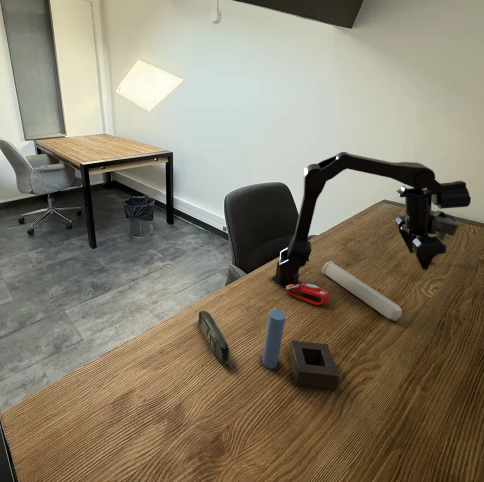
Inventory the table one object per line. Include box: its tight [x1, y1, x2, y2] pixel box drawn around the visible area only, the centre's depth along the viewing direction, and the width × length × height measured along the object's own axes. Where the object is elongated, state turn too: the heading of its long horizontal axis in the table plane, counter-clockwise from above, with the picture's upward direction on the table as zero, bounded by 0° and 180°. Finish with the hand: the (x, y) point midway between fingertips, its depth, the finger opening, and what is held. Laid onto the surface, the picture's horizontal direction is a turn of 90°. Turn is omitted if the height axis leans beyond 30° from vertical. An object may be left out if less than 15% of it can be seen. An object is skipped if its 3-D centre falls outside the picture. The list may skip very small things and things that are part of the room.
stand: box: [288, 340, 340, 390], centre depth 68 cm, size 8×8×4 cm
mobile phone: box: [197, 310, 233, 369], centre depth 74 cm, size 5×3×15 cm
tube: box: [321, 260, 403, 322], centre depth 94 cm, size 5×5×25 cm
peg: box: [262, 308, 286, 370], centre depth 68 cm, size 3×3×14 cm
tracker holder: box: [285, 283, 330, 306], centre depth 92 cm, size 12×4×10 cm
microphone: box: [430, 213, 457, 264], centre depth 111 cm, size 7×7×20 cm
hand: (418, 260), depth 86 cm, fingers open, 9 cm apart
